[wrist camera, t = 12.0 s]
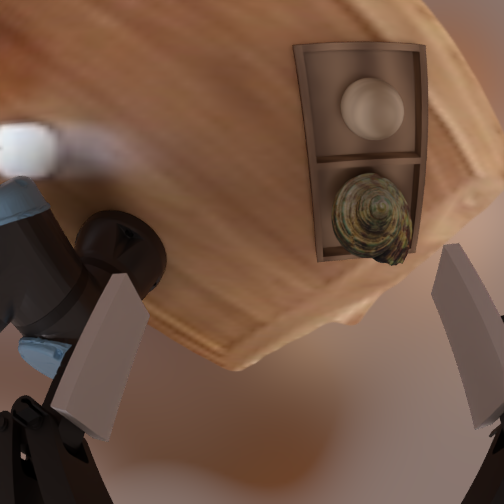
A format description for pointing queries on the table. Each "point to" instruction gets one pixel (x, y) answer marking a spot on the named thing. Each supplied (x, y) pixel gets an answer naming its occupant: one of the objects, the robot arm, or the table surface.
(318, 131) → the holder
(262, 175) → the table surface
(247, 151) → the table surface
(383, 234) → the seashell
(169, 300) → the table surface
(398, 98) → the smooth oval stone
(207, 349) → the table surface
